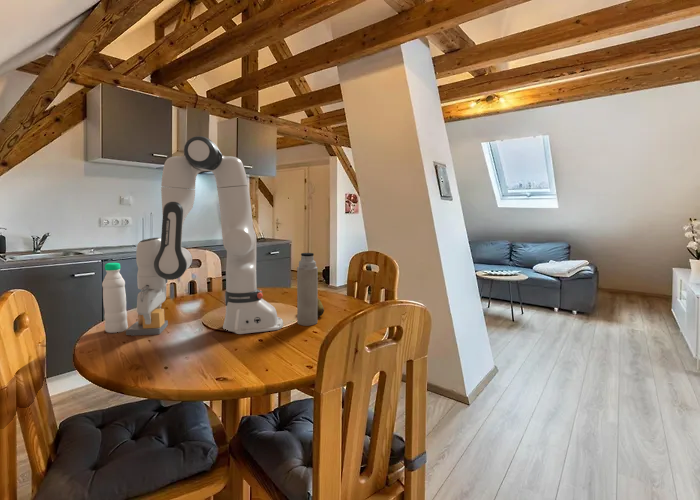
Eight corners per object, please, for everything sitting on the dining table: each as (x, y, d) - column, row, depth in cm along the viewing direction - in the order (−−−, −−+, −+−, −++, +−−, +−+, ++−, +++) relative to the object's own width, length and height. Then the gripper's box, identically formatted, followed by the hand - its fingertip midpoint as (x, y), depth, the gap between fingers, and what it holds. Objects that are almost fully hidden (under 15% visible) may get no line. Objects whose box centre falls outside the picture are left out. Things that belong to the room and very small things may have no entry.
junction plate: (167, 325, 144) (167, 310, 143) (159, 334, 134) (158, 317, 133) (136, 326, 142) (136, 311, 141) (126, 335, 132) (125, 319, 131)
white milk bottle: (117, 334, 133) (112, 265, 130) (100, 332, 135) (95, 264, 132) (132, 328, 140) (128, 262, 137) (116, 326, 141) (112, 261, 138)
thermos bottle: (302, 318, 154) (302, 251, 151) (320, 320, 152) (320, 252, 148) (293, 324, 147) (293, 253, 143) (312, 326, 144) (312, 254, 141)
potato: (305, 319, 153) (304, 300, 152) (301, 310, 166) (301, 293, 165) (324, 318, 155) (325, 299, 154) (320, 309, 168) (320, 292, 167)
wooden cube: (164, 322, 140) (163, 308, 140) (159, 327, 135) (159, 312, 134) (148, 323, 139) (147, 309, 139) (143, 328, 134) (142, 313, 133)
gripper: (151, 288, 126) (152, 328, 127) (169, 277, 146) (170, 311, 147) (130, 289, 124) (132, 329, 126) (151, 277, 144) (153, 312, 146)
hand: (153, 319), depth 137 cm, fingers open, 8 cm apart
